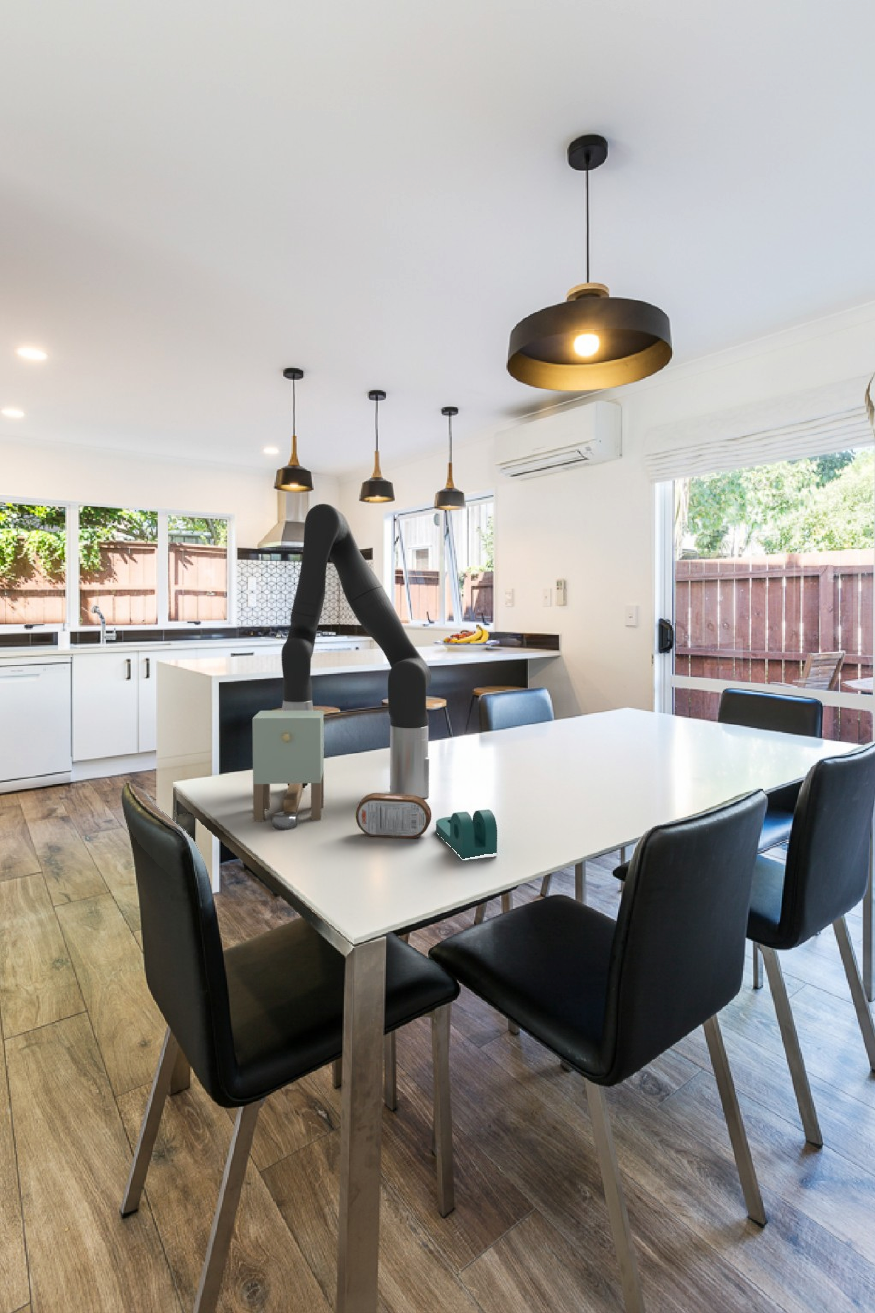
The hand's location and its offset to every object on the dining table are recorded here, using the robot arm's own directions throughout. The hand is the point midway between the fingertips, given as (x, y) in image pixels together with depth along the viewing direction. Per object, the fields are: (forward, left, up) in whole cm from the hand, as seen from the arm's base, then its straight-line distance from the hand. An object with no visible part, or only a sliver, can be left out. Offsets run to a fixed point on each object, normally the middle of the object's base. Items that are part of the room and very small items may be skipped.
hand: (297, 787), depth 158 cm
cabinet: (0, +18, -1) cm, 18 cm away
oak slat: (0, +9, -1) cm, 9 cm away
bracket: (-36, +38, -1) cm, 52 cm away
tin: (-22, +34, -1) cm, 40 cm away
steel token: (0, +26, -1) cm, 26 cm away
